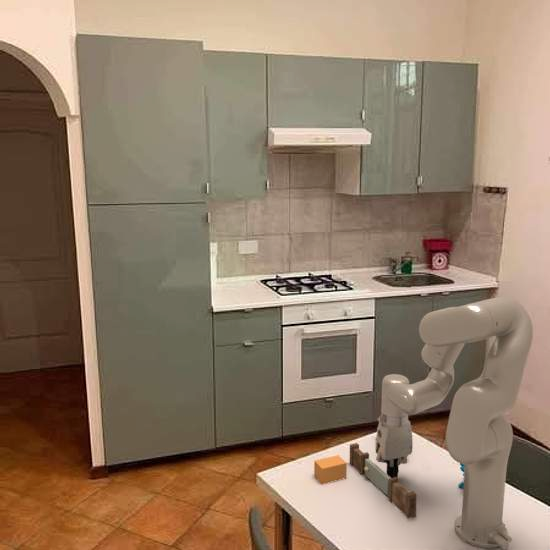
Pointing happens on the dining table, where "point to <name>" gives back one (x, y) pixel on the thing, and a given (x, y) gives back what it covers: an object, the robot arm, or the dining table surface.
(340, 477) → the orange rectangular block
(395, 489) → the wall frame
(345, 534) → the dining table surface
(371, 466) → the door
